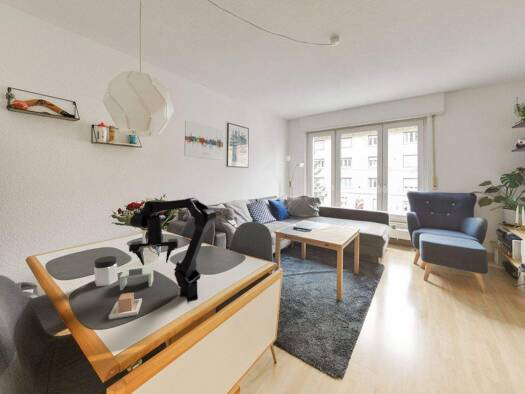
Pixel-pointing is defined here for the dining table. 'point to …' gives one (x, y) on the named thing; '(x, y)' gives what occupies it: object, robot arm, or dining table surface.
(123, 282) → the cover
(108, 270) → the jar
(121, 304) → the block
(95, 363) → the dining table surface
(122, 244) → the dining table surface
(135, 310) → the dish
